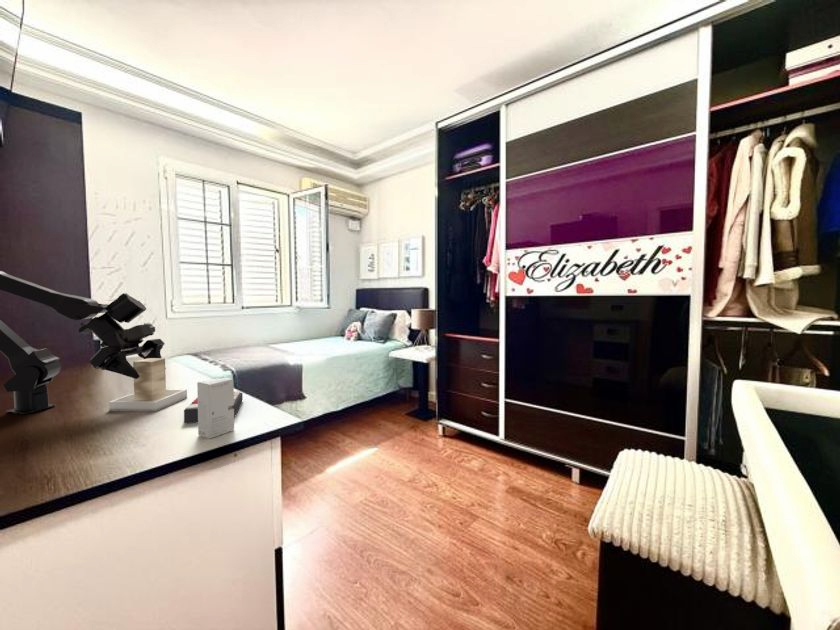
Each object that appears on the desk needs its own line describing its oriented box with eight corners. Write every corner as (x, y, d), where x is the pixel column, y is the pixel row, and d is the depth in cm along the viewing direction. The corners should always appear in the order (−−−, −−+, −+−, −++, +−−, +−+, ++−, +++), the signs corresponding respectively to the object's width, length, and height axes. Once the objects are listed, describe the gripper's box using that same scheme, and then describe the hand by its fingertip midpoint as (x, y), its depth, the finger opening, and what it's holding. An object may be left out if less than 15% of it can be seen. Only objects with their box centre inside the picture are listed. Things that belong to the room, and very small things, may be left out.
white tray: (109, 410, 90) (109, 401, 90) (146, 396, 102) (146, 388, 102) (155, 411, 90) (154, 402, 89) (187, 397, 102) (186, 389, 102)
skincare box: (210, 439, 73) (208, 384, 73) (196, 435, 75) (195, 382, 74) (235, 429, 79) (234, 378, 78) (223, 426, 81) (222, 376, 80)
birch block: (134, 404, 93) (133, 361, 92) (149, 398, 98) (147, 358, 97) (152, 404, 93) (151, 361, 93) (166, 399, 98) (165, 358, 98)
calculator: (242, 389, 100) (234, 402, 86) (242, 404, 100) (234, 419, 86) (199, 393, 96) (183, 407, 82) (199, 408, 96) (183, 424, 82)
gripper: (99, 316, 85) (144, 360, 85) (157, 312, 104) (194, 348, 104) (69, 346, 85) (114, 390, 86) (133, 337, 104) (169, 373, 105)
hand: (151, 373), depth 95 cm, fingers open, 9 cm apart
